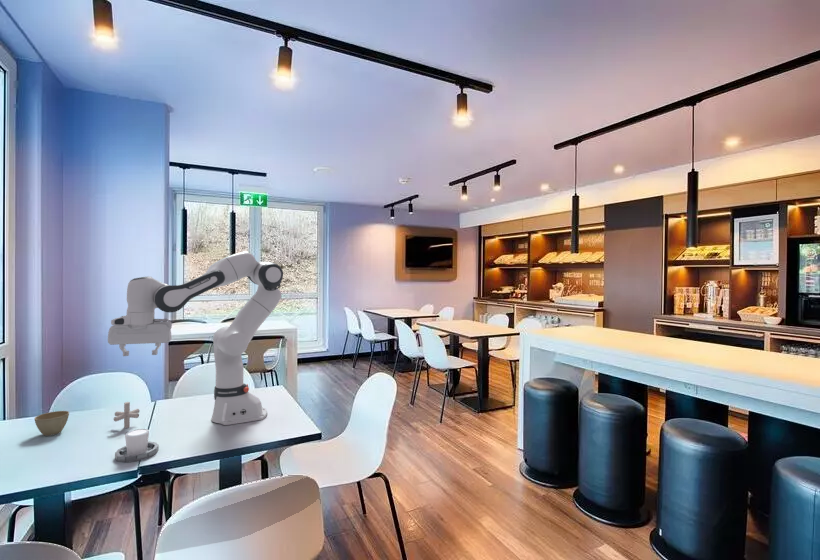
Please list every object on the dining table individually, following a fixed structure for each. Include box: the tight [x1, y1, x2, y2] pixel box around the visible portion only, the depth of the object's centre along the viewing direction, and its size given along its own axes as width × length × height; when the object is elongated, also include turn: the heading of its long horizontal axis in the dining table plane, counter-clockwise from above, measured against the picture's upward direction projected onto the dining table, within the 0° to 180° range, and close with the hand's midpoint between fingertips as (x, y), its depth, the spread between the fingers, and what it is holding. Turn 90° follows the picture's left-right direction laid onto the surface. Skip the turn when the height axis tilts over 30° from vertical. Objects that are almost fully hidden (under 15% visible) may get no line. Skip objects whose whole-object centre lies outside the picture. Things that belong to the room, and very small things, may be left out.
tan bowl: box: [34, 410, 70, 437], centre depth 153 cm, size 10×10×7 cm
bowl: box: [114, 441, 160, 463], centre depth 137 cm, size 12×12×2 cm
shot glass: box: [124, 428, 150, 456], centre depth 137 cm, size 7×7×7 cm
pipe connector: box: [113, 401, 140, 429], centre depth 160 cm, size 10×10×10 cm
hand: (140, 355), depth 151 cm, fingers open, 8 cm apart
